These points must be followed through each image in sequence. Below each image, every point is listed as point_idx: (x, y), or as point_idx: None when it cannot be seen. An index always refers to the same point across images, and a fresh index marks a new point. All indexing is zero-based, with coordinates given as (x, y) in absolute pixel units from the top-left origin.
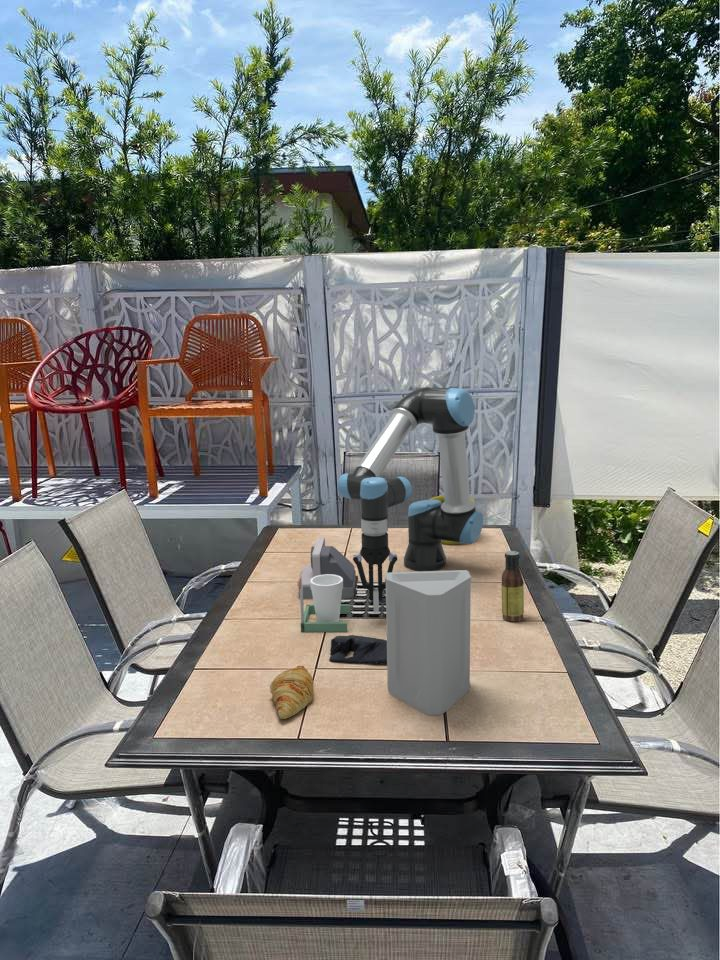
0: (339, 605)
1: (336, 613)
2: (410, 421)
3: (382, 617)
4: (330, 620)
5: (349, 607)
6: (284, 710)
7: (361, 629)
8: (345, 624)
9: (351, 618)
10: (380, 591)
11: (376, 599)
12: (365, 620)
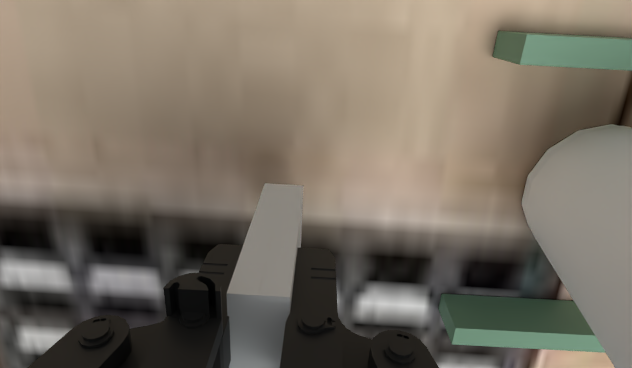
0: (603, 218)
1: (600, 168)
2: None
3: None
4: (622, 135)
5: (452, 318)
6: None
7: (392, 67)
8: (534, 34)
9: (439, 233)
10: (195, 275)
11: (265, 239)
12: (357, 201)
